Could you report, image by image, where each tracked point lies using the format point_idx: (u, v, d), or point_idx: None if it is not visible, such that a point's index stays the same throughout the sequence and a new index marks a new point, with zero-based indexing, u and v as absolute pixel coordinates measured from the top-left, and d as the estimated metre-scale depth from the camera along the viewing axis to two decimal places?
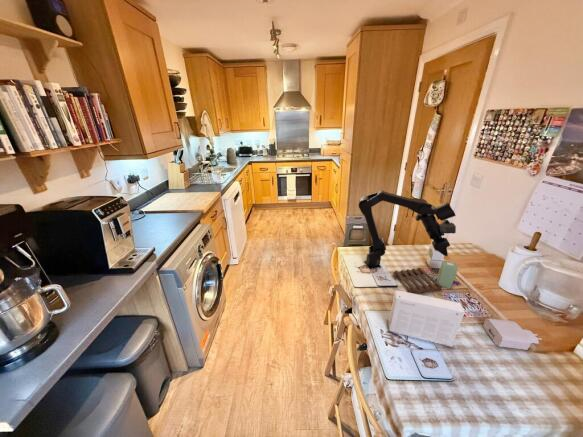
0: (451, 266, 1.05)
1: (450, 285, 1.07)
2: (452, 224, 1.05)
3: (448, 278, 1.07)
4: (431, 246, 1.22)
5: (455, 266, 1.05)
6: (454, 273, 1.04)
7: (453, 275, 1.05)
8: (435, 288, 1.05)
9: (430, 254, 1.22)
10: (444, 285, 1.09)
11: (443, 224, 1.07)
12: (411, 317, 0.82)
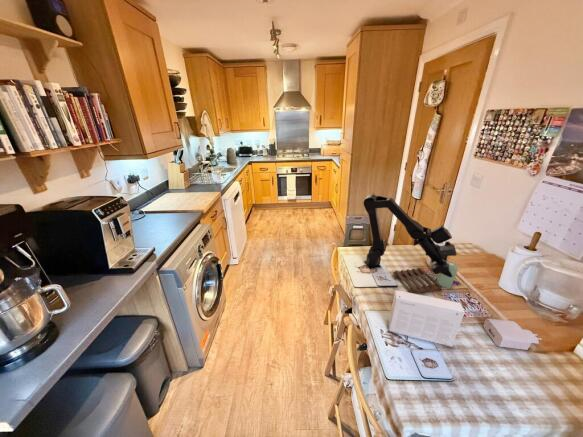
0: (451, 266, 1.05)
1: (450, 285, 1.07)
2: (452, 246, 1.04)
3: (448, 278, 1.07)
4: None
5: (455, 266, 1.05)
6: (454, 273, 1.04)
7: (453, 275, 1.05)
8: (435, 288, 1.05)
9: None
10: (444, 285, 1.09)
11: (443, 246, 1.06)
12: (411, 317, 0.82)
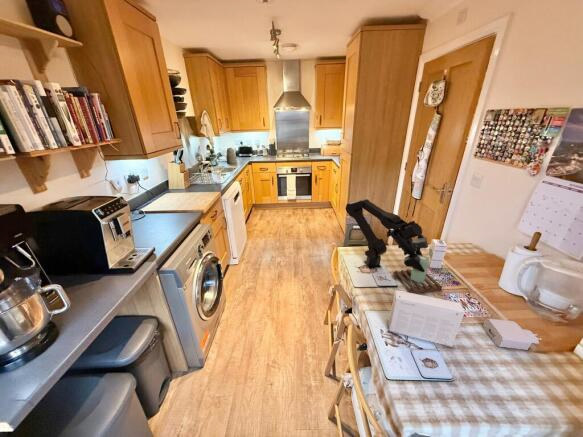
0: (423, 260, 1.05)
1: (422, 279, 1.06)
2: (424, 238, 1.03)
3: (420, 273, 1.06)
4: (431, 246, 1.22)
5: (427, 260, 1.05)
6: (426, 267, 1.04)
7: (425, 269, 1.04)
8: (435, 288, 1.05)
9: (430, 254, 1.22)
10: (417, 279, 1.08)
11: (416, 239, 1.05)
12: (411, 317, 0.82)
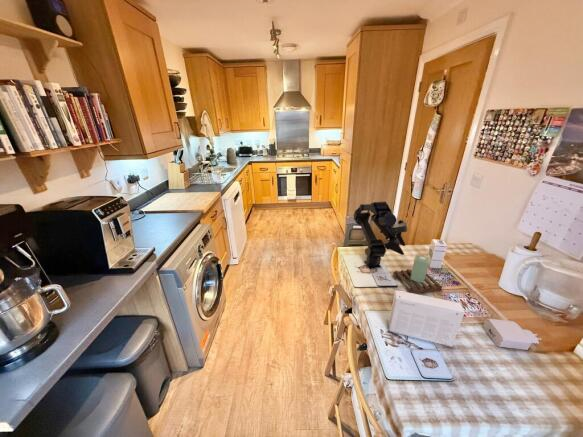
0: (423, 260, 1.05)
1: (422, 279, 1.06)
2: (404, 223, 1.10)
3: (420, 273, 1.06)
4: (431, 246, 1.22)
5: (427, 260, 1.05)
6: (426, 267, 1.04)
7: (425, 269, 1.04)
8: (435, 288, 1.05)
9: (430, 254, 1.22)
10: (417, 279, 1.08)
11: (396, 224, 1.12)
12: (411, 317, 0.82)
